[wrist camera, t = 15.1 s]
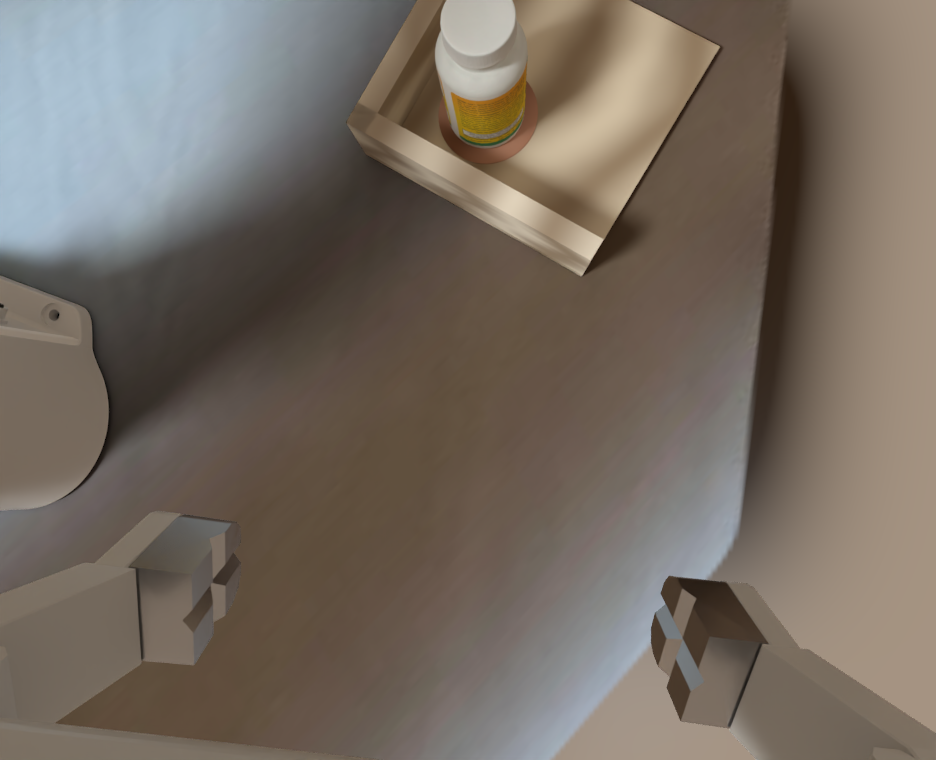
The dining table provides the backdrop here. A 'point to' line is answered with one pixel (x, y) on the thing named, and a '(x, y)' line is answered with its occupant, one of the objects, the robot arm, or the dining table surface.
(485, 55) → the supplement bottle
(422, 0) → the tray
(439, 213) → the dining table surface
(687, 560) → the dining table surface
